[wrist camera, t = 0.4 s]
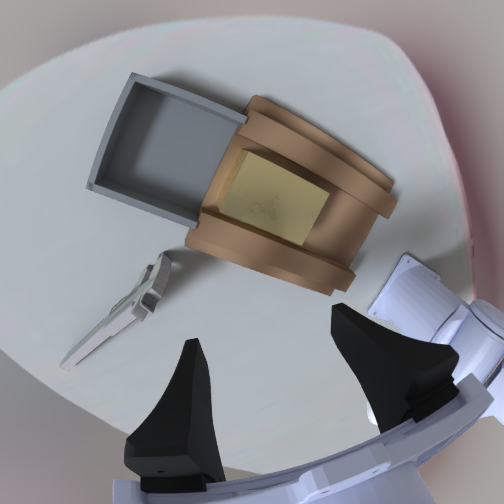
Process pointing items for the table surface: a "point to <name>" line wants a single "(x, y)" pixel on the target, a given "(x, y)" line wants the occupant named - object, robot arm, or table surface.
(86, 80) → the table surface
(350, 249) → the slot board
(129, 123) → the tray
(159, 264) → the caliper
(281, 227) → the block
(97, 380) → the table surface
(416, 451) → the robot arm
